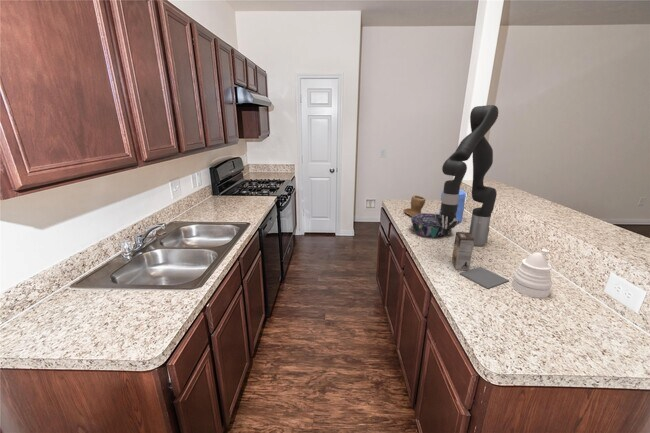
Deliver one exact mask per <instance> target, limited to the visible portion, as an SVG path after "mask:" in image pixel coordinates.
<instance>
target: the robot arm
mask: <svg viewBox="0 0 650 433" xmlns="http://www.w3.org/2000/svg"><path fill="white" fill-rule="evenodd" d="M498 117H499V108H498V107H497V105H493V104H492V105H491V104H489V105H477V106H474V107H472V109H471V111H470V114H469V123H470V131H471V132H470V133H469V134H467V135H466V136H465V137H463V139H462V140H461V142H460V143H459V144H458V146H457V147H456V150H455V151H454V153H452V154H450V156H449V157H448V158H447V159H446V160H445V161H444V163H443V165H442V166H441V167H442V168H441V170H442V173H443V174H444V175H446V176H452V177H453V179H450V180H446V181H445V182H444V185H443V189H442V191H443V195H442V201H441V200H440V201H441V203H440V208H439V211H440V210H441V212H440V214H439V213H438V215H436V217H437V219H438V222H439V224H440V226H442V227H443V231H442V233H443V235H442V236H445V237H447V236H449V234H450V232H449V229H451V230H452V229H454V228H455V227H456V226H457V225H458V224H460V223H459V220H458V221H457V219H456V212H457V207H458V201H459V190H461V184H462V182H463V180H464V177H465V175H466V173H467V169H468V167H467V166H468V165H467V164H466V162H467V161H469V159H470V158H471V157H472V184H471V198H472V200H473V201H474V202H476V203H480V204H482V205H481V207H475V208H473V209H472V213H471V219H470V226H469V232H468V233H470V234H471V235H472V237H473V238H474V246H476V247H483V246H485V247H486V245H487V243H488V237H489V233H490V223H491V217H492V213H493V211H494V207H495V204H496V200H497V196H498V195H497V190H496V188H494V187H490V186H486V185H485V184H484V178H485V176H486V174H487V172H488V171H489V170H490V169H491V168H492V165H493V161H494V150H493V148H492V146H491V144H490V143H489V141H488V140H487V139H486V137H485V136H486V135H487V133H488V132H489V131H490V129H491V128H492V127H493V126H494V124H495V123H496V121H497V119H498ZM452 221H453V223H452ZM441 222H442V223H441Z"/></svg>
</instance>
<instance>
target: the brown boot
mask: <svg viewBox="0 0 650 433" xmlns="http://www.w3.org/2000/svg"><path fill="white" fill-rule="evenodd" d="M425 204H426V198H425V197H424V196H420V195H413V196H412V197H411V200H410V208H404V209H403V212H404V213H406V214H407V215H408V216H410V217H412V216H415V215H417V214H422V210H423V208H424V206H425Z"/></svg>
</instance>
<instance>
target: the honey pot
mask: <svg viewBox="0 0 650 433" xmlns="http://www.w3.org/2000/svg"><path fill="white" fill-rule="evenodd" d="M549 254H550V250H549V249H546V248H542V249H541V251H540V252H539V251H538V252H533V253H531V254H530V255H529V256H527V257H526V258H525V257H524V258H523V259H522V260H521V264H520V265H519V266H518V268H517V269H516V271H515V272H514V273H513V278H512V281H511V287H512V288H513V289H514V290H515V291H516V292H518V293H520V294H522V295H524V296H527V297H531V298H536V299H544V298H548V297H549V296H550V293H551V289H552V284H553V282H552V281H553V280H552V277H551V276H552V274H551V272H550V271H551V270H552V268H553V267H552V265H551V264H550V263H549V262H548V261H547V259H546V257H545V256H547V255H549Z"/></svg>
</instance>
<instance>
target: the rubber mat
mask: <svg viewBox="0 0 650 433" xmlns="http://www.w3.org/2000/svg"><path fill="white" fill-rule="evenodd" d="M459 275H460V276H462V277H464V278H466V279H468V280H469V281H471V282H473V283H475V284H477V285H479V286H480V287H483V288H484V289H486V290H490V289H493V288H495V287H498V286H500V285H504V284H506V283H509V282H510V280H509V279H508V278H506V277H503V276H501V275H499V274H497V273H496V272H493V271H491V270H488V269H486V268H484V267H482V266H477V267H474V268H471V269H469V270H463V271H461V272H459Z"/></svg>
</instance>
